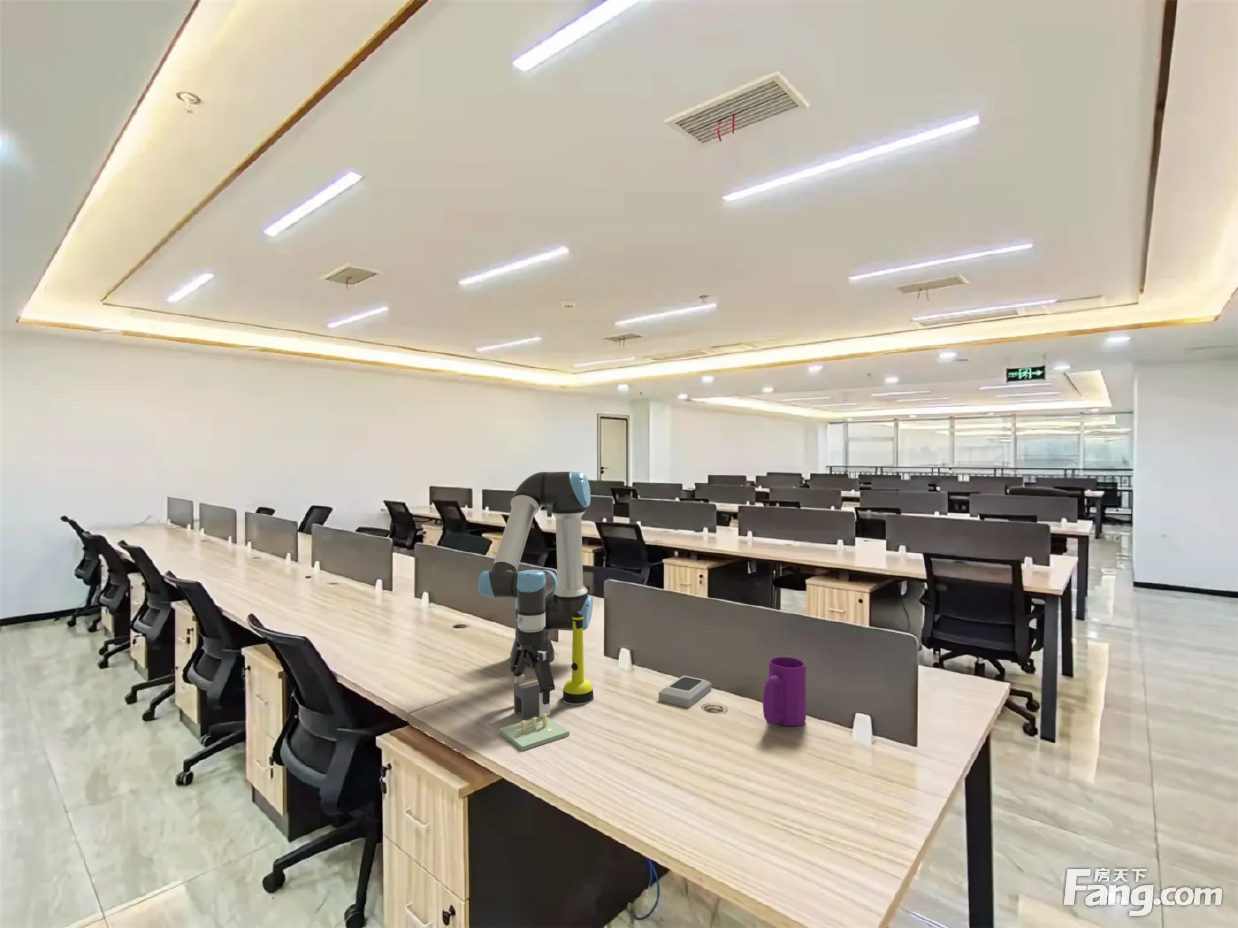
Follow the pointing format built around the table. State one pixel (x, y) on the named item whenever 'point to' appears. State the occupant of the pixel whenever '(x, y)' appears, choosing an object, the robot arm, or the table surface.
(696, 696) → the grey flat block
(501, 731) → the board
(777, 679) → the mug
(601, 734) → the table surface
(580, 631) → the flashlight
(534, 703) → the plug housing
